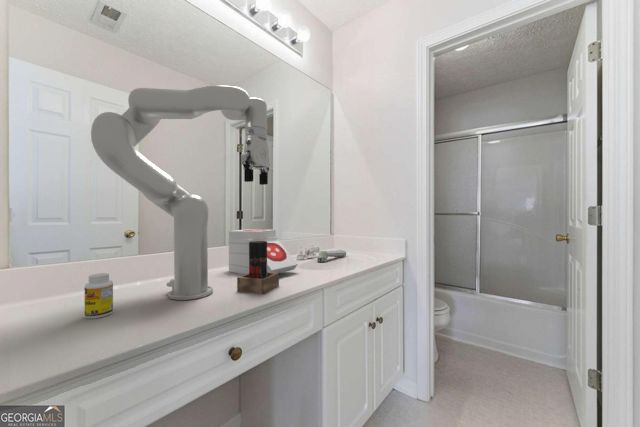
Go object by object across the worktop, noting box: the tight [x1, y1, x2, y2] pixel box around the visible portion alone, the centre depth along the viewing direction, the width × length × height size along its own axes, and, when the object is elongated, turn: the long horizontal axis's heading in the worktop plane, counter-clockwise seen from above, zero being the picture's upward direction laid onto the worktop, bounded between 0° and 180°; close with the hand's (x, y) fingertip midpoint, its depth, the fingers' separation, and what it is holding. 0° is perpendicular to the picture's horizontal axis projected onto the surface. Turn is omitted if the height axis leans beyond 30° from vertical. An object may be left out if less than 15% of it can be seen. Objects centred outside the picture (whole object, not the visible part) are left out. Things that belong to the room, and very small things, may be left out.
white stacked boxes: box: [228, 228, 299, 275], centre depth 118 cm, size 19×30×18 cm, turn 52°
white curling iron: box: [316, 249, 347, 263], centre depth 149 cm, size 5×7×25 cm
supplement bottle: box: [84, 272, 114, 320], centre depth 68 cm, size 6×6×10 cm
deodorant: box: [249, 241, 267, 279], centre depth 91 cm, size 6×6×15 cm
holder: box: [236, 272, 280, 295], centre depth 91 cm, size 10×10×4 cm
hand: (256, 183), depth 96 cm, fingers open, 9 cm apart
